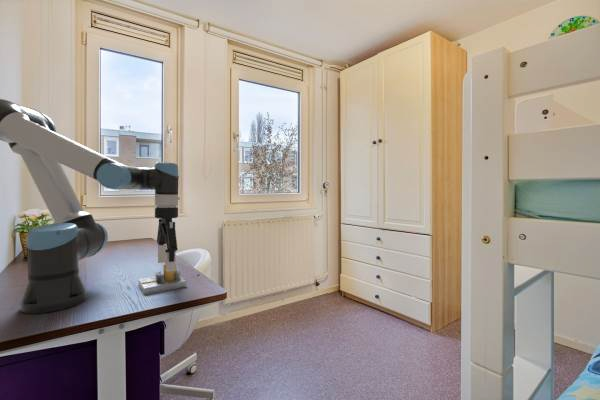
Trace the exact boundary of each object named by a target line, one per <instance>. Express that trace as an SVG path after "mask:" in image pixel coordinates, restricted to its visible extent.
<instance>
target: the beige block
mask: <svg viewBox="0 0 600 400" xmlns="http://www.w3.org/2000/svg"><path fill="white" fill-rule="evenodd" d="M162 266H163V275H164V280H165V281H171V280H175V279H176V278H175V273H176V269H177V264H176V263H175V271H169V272H167V271H166V259H165V262H164V264H163V265H162Z"/></svg>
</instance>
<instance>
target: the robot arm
mask: <svg viewBox="0 0 600 400" xmlns="http://www.w3.org/2000/svg"><path fill="white" fill-rule="evenodd" d="M0 141H2V142H4V143H7V144H8V145H9V147H10V150H11V151H12V152H13V153H15V154H18V155H21V158H22V160H23V162H24V164H25V166H26V167H27V170H28V172H29V173H30V176H31V178H32V180H33V181H34V184H35V186H36V188H37V189H38V192H39V193H40V196H41V197H42V200H43V202H44V204H45V205H46V208H47V209H48V211H49V213H50V215H51V217H52V219H53V223H50V224H45V225H44V224H43V225H39V226H36V227H34V228H31V229H30V230H29V231H28V232H27V234H26V242H25V246H26V256H27V257H26V260H27V261H26V262H27V284H26V287H25V290H24V293H23V296H22V298H21V301H20V312H21V313H23V314H30V315H31V314H34V315H35V314H36V315H37V314H45V313H53V312H58V311H61V310H64V309H65V310H66V309H69V308H72V307H74V306H77V305H80V304H82V303H83V302H84V301H86V300H87V297H88V295H87V289H86V287H85V284H84V282H83V280H82V278H81V276H80V275H81V274H80V268H79V267H80V263H79V262H80V261H81V260H84V259H86V258H90V257H93V256H95V255H96V254H98V253H99V252H101V251H102V250H103V249H105V248H106V245H107V243H108V238H109V236H108V231H107V228H106V227H104V226H103V224H100V223H98V222H96V221H95V219H94V217H93V214H92V213H90V212H88V211H87V212H86V211H85V210H84V208H83V206H82V204H81V203H80V200H79V199H78V197H77V195H76V192H75V190H74V189H73V186H72V184H71V182H70V180H69V179H68V176H67V174H66V172H65V171H64V168H63V166H66V167H68V168H70V169H72V170H74V171H77V172H78V173H81V174H83V175H85V176H87V177H89V178H91V179H94V180H95V181H97V182H98V183H99V184H100V185H101V186H102V187H104V188H106V189H110V190H117V191H118V190H154V206H156V207H155V208H154V218H155V219H158V226H157V228H158V229H157V235H156V242H157V244H158V245H157V263H158V264H163V263H165V259H166V271H167V272H169V271H175V264H176V252H177V251H178V249H179V248H178V243H177V241H178V240H177V233H176V222H175V221H173V219H177V218H178V217H179V207H178V206H179V201H180V199H181V198H180V197H179V178H180V176H179V165H178V164H177V163H174V162H168V161H167V162H165V161H161V162H160V161H157V162H155V165H154V167H137V166H130V165H126V164H123V163H120V162H118V161H117V160H114V159H111V158H110V157H107V156H105V155H104V154H102V153H99V152H97V151H95V150H93V149H90V148H89V147H86V146H85V145H82V144H80V143H78V142H76V141H74V140H71V139H70V138H67V137H66V136H63V135H61V134H59V133H57V129H56V126H55V124H54V122H53V120H52V119H51V117H49V116H47V115H46V114H44V113H42V112H41V111H39V110H37V109H34V108H30V107H26V106H23V105H20V104H17V103H15V102H12V101H11V100H10V101H9V100H8V99H2V98H0ZM62 165H63V166H62Z"/></svg>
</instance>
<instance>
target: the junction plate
mask: <svg viewBox="0 0 600 400" xmlns="http://www.w3.org/2000/svg"><path fill="white" fill-rule="evenodd" d="M161 273H162V272H161V271H157V272H155V275H154V276H151V277H147V278H146V277H145V278H139V279H138V286H139V288H140V290H141V291H142V293H143V295H149V294H154V293H158V292H160V293H161V292H164V291H166V292H167V291H171V290H175V289H181V288H186V287H187V280H186V279H184V277H182V276H181V270H180V269H178V268H176V273H175V278H176V279H175V280H171V281H165V280H164V273H162V274H161Z"/></svg>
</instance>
